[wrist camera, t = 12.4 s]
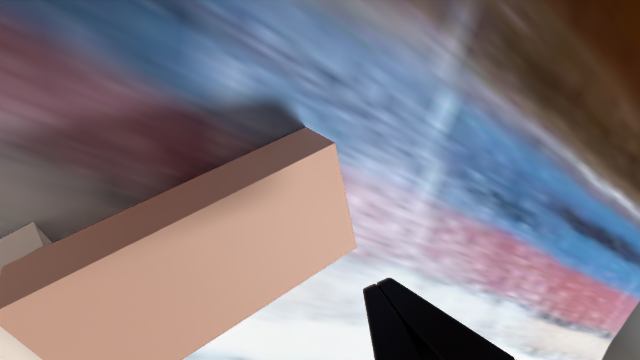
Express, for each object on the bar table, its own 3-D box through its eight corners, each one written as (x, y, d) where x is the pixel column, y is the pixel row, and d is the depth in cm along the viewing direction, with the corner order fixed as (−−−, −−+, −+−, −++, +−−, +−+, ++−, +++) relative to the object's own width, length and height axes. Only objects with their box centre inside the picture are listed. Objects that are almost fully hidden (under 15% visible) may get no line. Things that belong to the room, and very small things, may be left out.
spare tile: (334, 142, 11) (-14, 315, 8) (356, 247, 14) (104, 409, 11) (306, 127, 13) (3, 266, 9) (330, 224, 16) (103, 358, 12)
